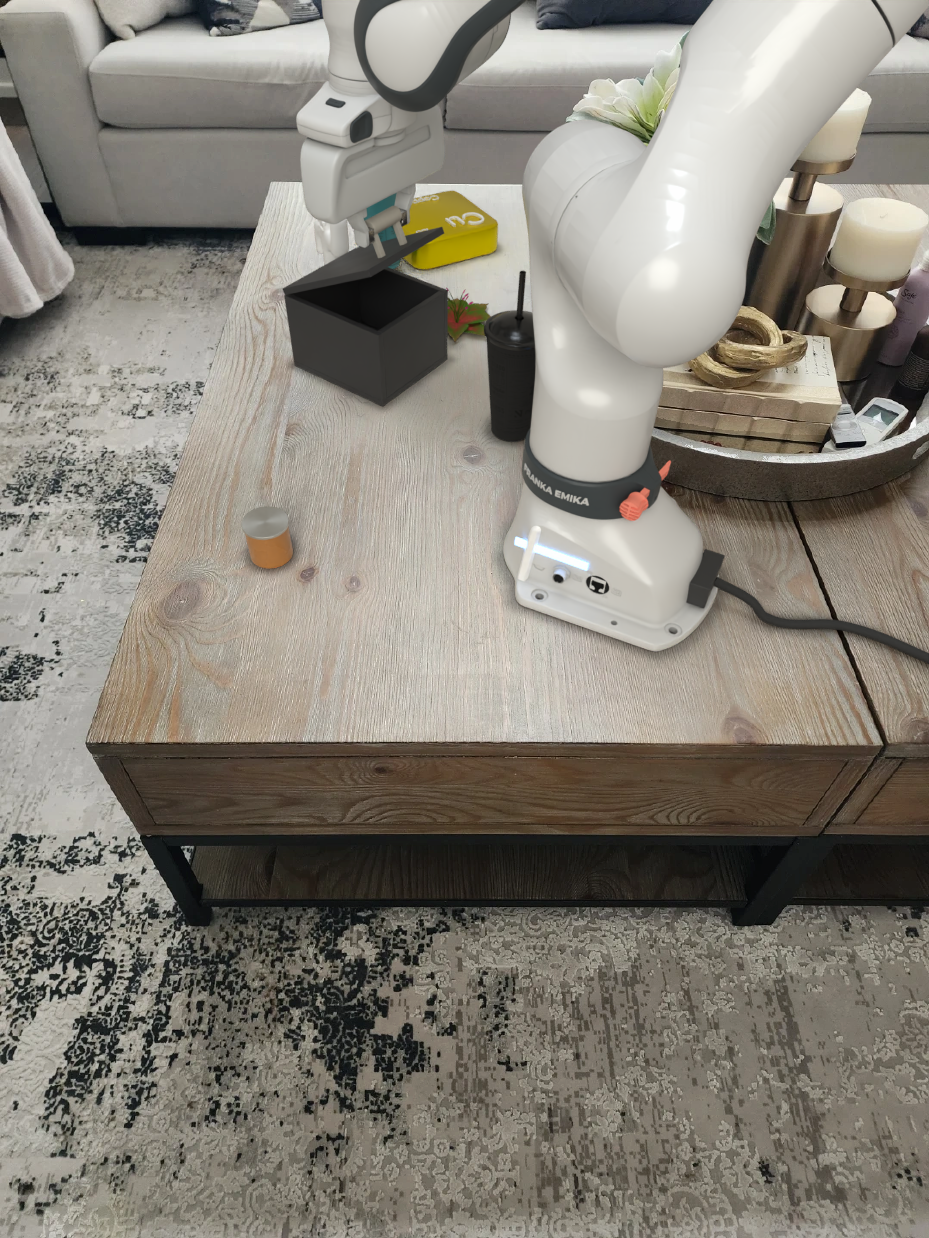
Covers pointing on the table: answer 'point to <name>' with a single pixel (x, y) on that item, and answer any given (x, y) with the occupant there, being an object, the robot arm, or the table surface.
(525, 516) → the robot arm
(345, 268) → the lid
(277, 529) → the coffee pod
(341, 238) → the figurine
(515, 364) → the drinking cup
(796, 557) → the table surface
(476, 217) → the element tile
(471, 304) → the lily flower
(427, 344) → the black tray bin
